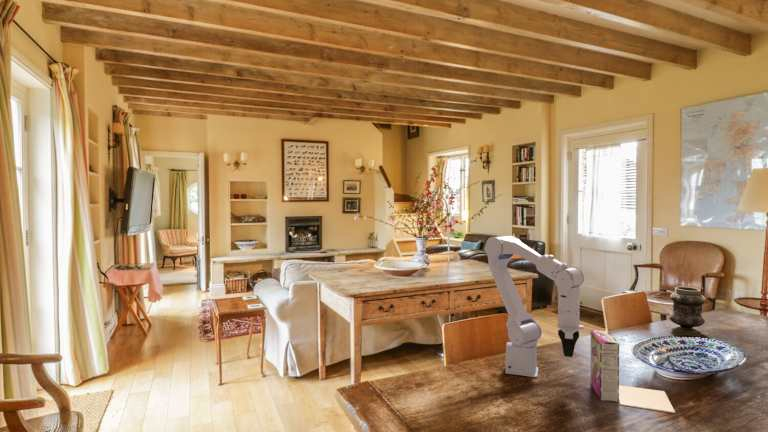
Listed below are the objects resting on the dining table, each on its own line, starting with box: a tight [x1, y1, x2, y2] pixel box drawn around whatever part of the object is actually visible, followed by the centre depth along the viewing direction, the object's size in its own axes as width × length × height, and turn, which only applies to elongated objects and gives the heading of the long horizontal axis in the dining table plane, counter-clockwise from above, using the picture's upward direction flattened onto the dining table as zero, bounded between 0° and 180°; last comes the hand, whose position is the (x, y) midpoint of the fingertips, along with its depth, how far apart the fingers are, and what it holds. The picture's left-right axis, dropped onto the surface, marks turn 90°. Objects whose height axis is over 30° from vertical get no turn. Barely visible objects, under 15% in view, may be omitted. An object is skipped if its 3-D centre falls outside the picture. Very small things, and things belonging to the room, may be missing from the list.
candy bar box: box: [590, 329, 620, 403], centre depth 125 cm, size 11×5×16 cm, turn 168°
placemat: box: [618, 384, 676, 414], centre depth 122 cm, size 12×13×1 cm
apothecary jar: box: [668, 285, 706, 337], centre depth 180 cm, size 12×12×18 cm
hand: (568, 356), depth 129 cm, fingers closed
